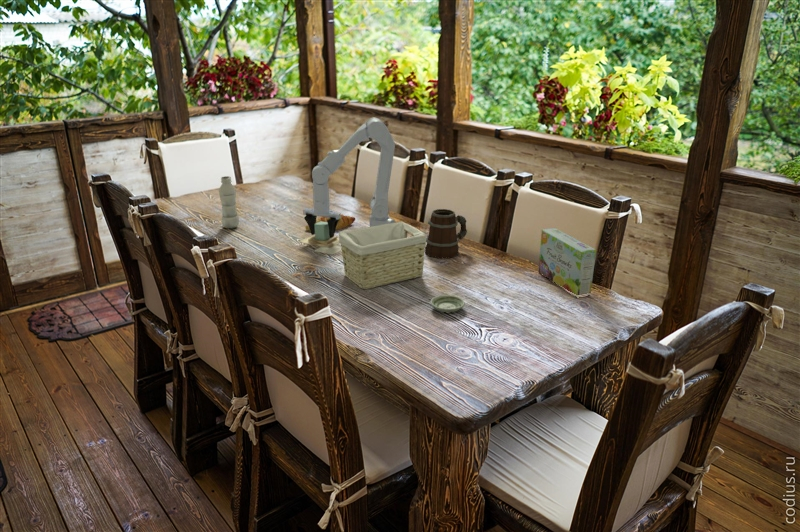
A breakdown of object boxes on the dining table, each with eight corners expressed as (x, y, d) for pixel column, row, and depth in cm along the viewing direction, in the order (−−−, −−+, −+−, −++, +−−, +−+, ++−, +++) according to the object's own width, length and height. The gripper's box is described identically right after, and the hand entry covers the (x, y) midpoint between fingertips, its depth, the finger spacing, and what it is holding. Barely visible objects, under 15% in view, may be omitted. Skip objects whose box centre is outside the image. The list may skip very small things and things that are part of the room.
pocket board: (347, 240, 223) (347, 236, 222) (330, 249, 214) (330, 245, 213) (316, 234, 229) (316, 230, 228) (298, 243, 220) (298, 238, 219)
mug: (436, 261, 205) (437, 218, 199) (419, 250, 214) (420, 209, 209) (474, 254, 211) (477, 212, 206) (456, 243, 221) (458, 204, 216)
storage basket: (359, 292, 180) (358, 246, 175) (337, 274, 193) (336, 230, 188) (427, 278, 191) (429, 234, 185) (402, 261, 204) (403, 220, 199)
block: (330, 239, 222) (329, 222, 220) (324, 242, 219) (323, 225, 216) (321, 237, 224) (320, 221, 221) (315, 241, 221) (314, 224, 218)
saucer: (443, 299, 177) (443, 291, 176) (471, 308, 171) (471, 301, 170) (423, 310, 170) (423, 302, 169) (451, 320, 164) (451, 312, 163)
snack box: (536, 273, 196) (540, 229, 190) (551, 270, 197) (555, 227, 192) (575, 299, 177) (582, 251, 171) (591, 296, 179) (598, 248, 173)
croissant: (309, 243, 231) (312, 228, 225) (299, 225, 236) (301, 210, 230) (358, 233, 241) (362, 218, 235) (347, 216, 246) (351, 201, 240)
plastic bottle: (242, 225, 239) (237, 175, 232) (236, 230, 233) (231, 179, 225) (226, 224, 240) (221, 175, 232) (219, 229, 233) (214, 179, 226)
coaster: (345, 249, 214) (345, 247, 214) (332, 256, 208) (332, 254, 208) (327, 245, 218) (326, 243, 218) (313, 252, 211) (313, 250, 211)
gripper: (344, 199, 216) (345, 234, 221) (309, 194, 222) (311, 229, 227) (334, 204, 210) (336, 240, 215) (299, 199, 216) (301, 235, 221)
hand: (322, 235), depth 221 cm, fingers open, 7 cm apart
